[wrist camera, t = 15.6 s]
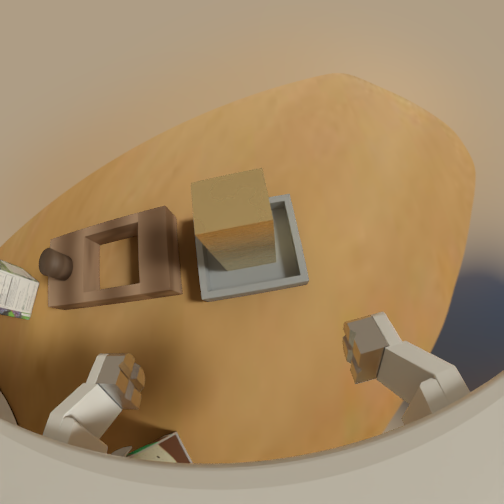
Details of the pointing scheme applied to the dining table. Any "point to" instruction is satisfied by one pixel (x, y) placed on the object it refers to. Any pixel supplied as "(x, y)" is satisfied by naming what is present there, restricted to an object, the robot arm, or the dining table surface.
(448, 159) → the dining table surface
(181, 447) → the food container
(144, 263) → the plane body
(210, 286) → the tray
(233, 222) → the gold rectangular block
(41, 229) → the dining table surface
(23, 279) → the syrup box
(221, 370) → the dining table surface
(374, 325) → the robot arm
